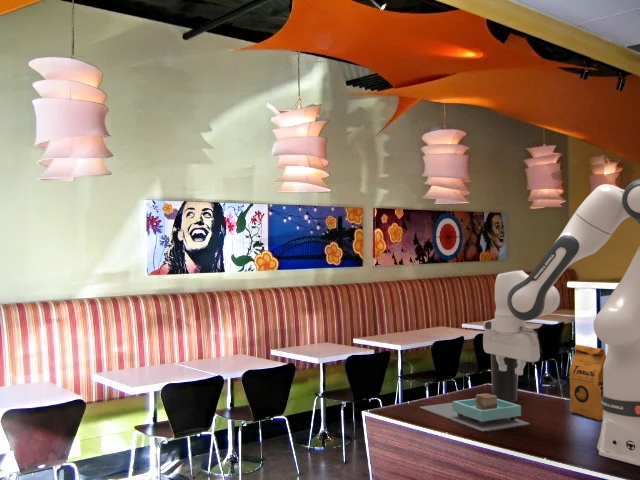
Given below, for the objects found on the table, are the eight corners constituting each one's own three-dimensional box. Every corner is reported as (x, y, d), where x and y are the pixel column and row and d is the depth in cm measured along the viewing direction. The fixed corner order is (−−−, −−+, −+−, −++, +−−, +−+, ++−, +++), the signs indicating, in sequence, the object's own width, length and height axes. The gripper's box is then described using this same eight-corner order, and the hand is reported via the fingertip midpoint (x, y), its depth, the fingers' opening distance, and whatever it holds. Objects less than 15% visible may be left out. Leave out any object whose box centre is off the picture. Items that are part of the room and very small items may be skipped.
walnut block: (497, 410, 203) (497, 396, 203) (485, 412, 201) (485, 397, 201) (487, 407, 207) (487, 393, 207) (475, 409, 205) (475, 394, 205)
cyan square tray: (521, 421, 201) (521, 405, 201) (482, 427, 195) (481, 411, 195) (490, 411, 214) (490, 396, 214) (452, 416, 207) (452, 401, 207)
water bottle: (525, 402, 229) (524, 335, 229) (497, 403, 227) (496, 336, 228) (511, 395, 239) (511, 331, 239) (485, 396, 237) (484, 332, 238)
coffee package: (595, 422, 202) (595, 350, 203) (565, 413, 214) (564, 344, 214) (619, 418, 207) (618, 348, 207) (588, 410, 218) (587, 343, 218)
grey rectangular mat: (529, 424, 200) (529, 423, 200) (482, 432, 192) (482, 430, 192) (462, 402, 229) (462, 401, 229) (419, 408, 221) (419, 406, 221)
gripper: (544, 328, 185) (545, 378, 185) (495, 321, 204) (495, 366, 204) (527, 329, 183) (528, 380, 182) (479, 322, 201) (479, 368, 201)
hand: (510, 372), depth 193 cm, fingers open, 5 cm apart
